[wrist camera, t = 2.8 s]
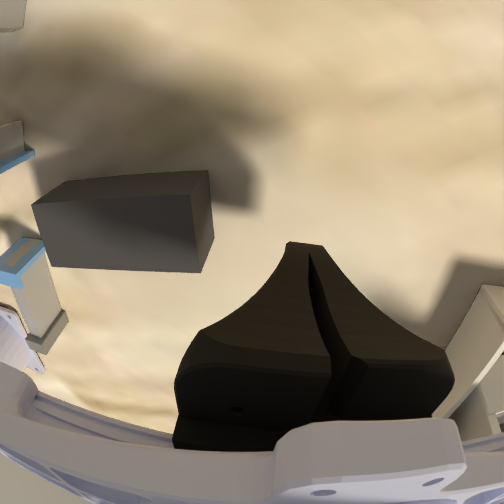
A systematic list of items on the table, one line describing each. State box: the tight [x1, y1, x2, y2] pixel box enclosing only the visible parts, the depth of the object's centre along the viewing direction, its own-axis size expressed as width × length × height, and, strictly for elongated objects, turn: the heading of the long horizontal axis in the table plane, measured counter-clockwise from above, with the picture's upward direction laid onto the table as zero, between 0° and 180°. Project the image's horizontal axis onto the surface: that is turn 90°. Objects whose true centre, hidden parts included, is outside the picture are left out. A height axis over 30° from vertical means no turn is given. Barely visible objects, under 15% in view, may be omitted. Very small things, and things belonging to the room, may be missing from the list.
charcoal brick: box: [31, 170, 215, 273], centre depth 14 cm, size 8×3×3 cm, turn 92°
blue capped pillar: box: [0, 0, 69, 355], centre depth 13 cm, size 3×22×4 cm, turn 175°
